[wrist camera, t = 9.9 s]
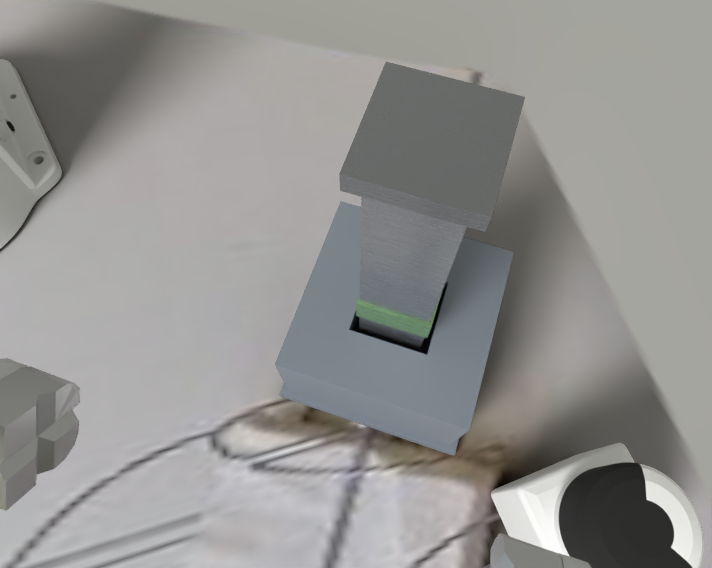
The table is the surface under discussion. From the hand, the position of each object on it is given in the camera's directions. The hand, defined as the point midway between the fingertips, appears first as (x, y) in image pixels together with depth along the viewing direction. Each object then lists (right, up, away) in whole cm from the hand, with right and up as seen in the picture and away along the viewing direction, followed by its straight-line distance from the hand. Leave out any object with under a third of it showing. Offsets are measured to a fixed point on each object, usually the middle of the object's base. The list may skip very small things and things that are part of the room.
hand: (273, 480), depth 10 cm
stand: (+4, -1, +32) cm, 32 cm away
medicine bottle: (+15, -13, +27) cm, 33 cm away
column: (+4, +2, +25) cm, 25 cm away
